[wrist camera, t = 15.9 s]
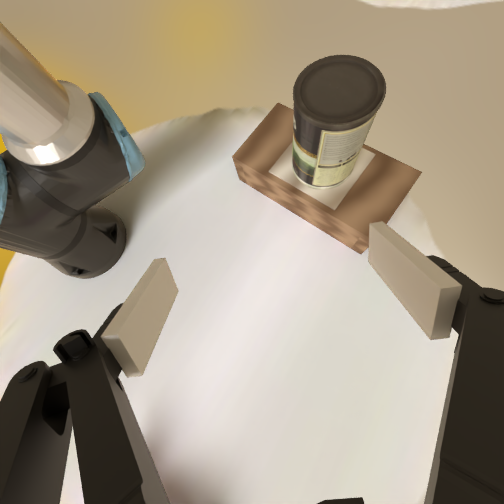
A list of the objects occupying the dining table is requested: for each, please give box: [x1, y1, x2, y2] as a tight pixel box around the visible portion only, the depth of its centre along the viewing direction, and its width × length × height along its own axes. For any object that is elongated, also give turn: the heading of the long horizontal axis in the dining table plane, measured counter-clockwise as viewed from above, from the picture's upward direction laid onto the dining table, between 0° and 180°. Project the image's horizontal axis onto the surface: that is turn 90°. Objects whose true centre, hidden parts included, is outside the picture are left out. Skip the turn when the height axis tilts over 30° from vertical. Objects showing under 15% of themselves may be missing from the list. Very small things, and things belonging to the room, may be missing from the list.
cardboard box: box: [232, 103, 422, 254], centre depth 46 cm, size 28×14×8 cm, turn 53°
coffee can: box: [292, 55, 386, 189], centre depth 36 cm, size 10×10×14 cm
